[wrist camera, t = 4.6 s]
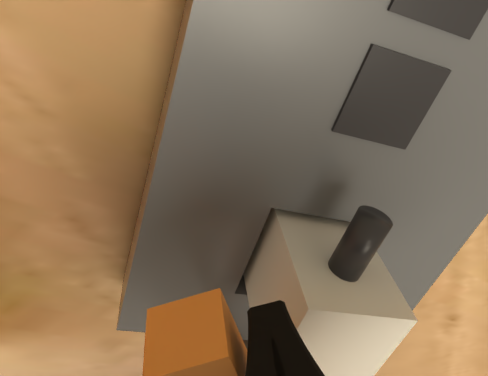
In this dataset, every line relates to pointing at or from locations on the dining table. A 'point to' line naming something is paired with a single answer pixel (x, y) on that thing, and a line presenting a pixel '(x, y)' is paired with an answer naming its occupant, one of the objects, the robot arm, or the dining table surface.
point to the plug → (332, 287)
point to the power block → (312, 139)
